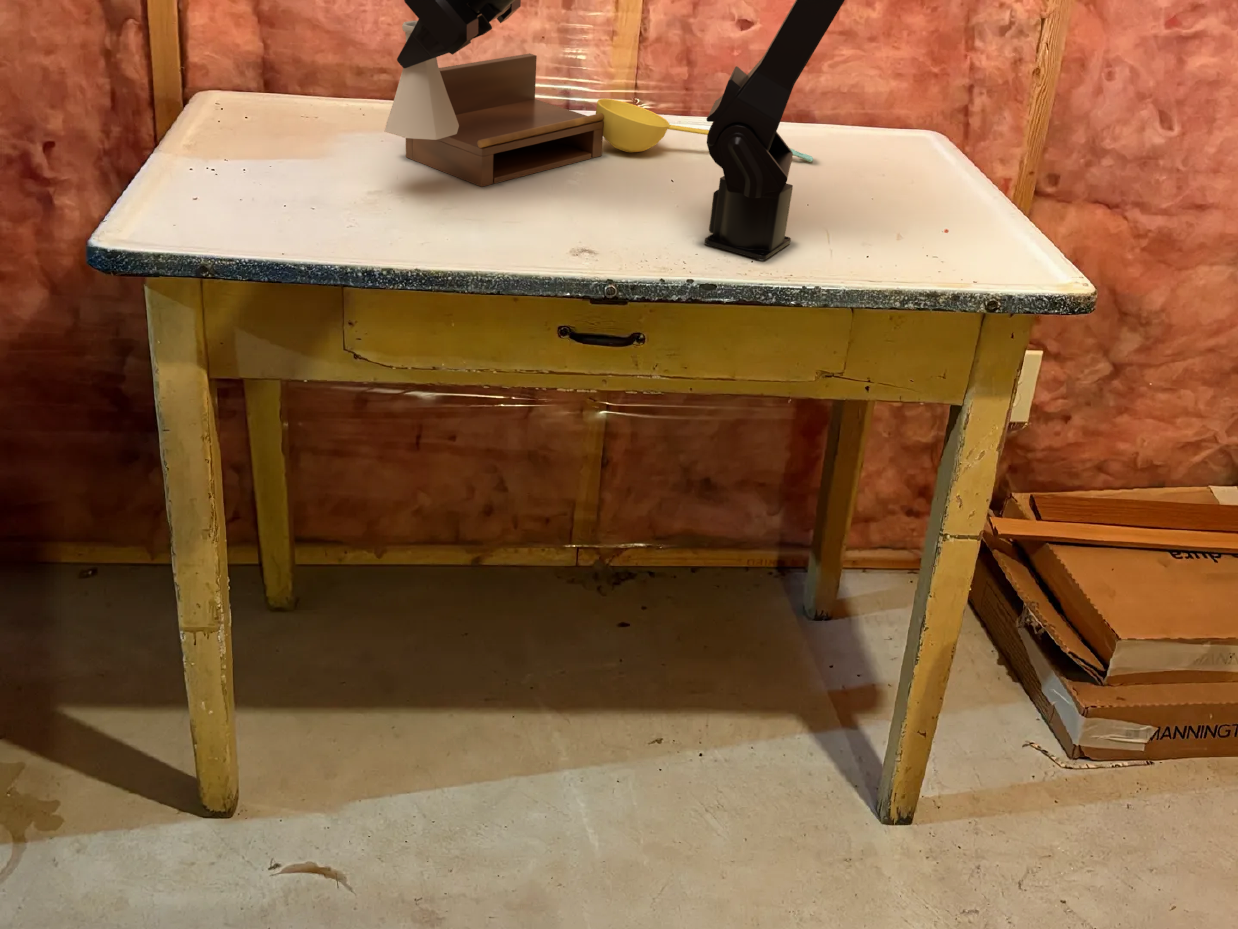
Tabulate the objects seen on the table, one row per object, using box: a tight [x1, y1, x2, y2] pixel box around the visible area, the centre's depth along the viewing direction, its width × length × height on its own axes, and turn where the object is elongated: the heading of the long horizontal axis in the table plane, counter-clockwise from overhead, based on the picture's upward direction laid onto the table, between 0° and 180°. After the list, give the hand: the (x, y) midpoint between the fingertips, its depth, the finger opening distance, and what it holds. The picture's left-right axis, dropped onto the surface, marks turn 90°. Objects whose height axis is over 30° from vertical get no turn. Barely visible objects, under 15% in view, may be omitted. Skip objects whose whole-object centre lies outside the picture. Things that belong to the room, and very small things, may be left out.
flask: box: [384, 20, 459, 140], centre depth 109 cm, size 7×7×10 cm
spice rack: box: [405, 53, 604, 188], centre depth 126 cm, size 12×19×9 cm, turn 139°
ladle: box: [595, 98, 814, 163], centre depth 135 cm, size 9×26×6 cm, turn 93°
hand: (406, 60), depth 108 cm, fingers closed on flask, 3 cm apart
